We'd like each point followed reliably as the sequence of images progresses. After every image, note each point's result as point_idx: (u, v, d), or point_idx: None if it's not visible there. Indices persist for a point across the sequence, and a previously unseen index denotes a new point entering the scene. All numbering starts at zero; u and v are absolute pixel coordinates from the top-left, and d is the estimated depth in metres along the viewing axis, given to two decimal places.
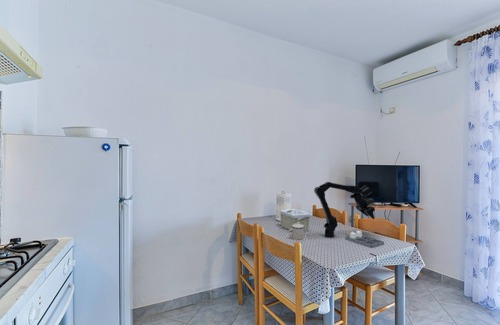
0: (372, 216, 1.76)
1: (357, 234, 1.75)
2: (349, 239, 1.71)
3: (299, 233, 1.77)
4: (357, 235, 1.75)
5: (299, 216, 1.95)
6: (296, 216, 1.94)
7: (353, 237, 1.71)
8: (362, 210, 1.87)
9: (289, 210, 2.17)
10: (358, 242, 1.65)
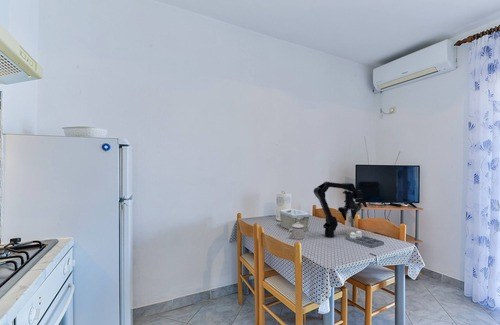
0: (344, 217, 1.83)
1: (357, 234, 1.75)
2: (349, 239, 1.71)
3: (299, 233, 1.77)
4: (357, 235, 1.75)
5: (299, 216, 1.95)
6: (296, 216, 1.94)
7: (353, 237, 1.71)
8: (352, 211, 1.88)
9: (289, 210, 2.17)
10: (358, 242, 1.65)
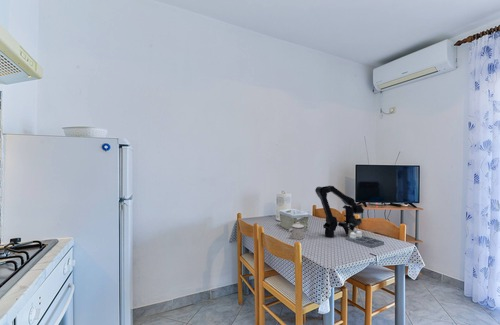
0: (346, 231, 1.84)
1: (357, 234, 1.75)
2: (349, 239, 1.71)
3: (299, 233, 1.77)
4: (357, 235, 1.75)
5: (298, 216, 1.95)
6: (295, 216, 1.94)
7: (353, 237, 1.71)
8: (350, 226, 1.87)
9: (288, 210, 2.17)
10: (358, 242, 1.65)
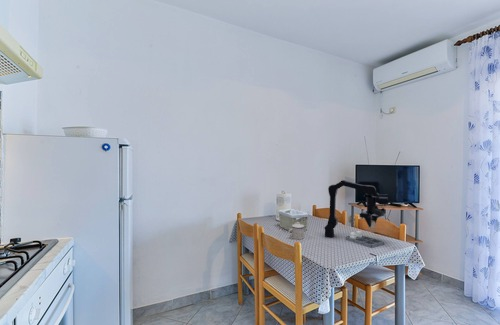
0: (368, 223, 1.66)
1: (357, 234, 1.75)
2: (349, 239, 1.71)
3: (299, 233, 1.77)
4: (357, 235, 1.75)
5: (297, 216, 1.95)
6: (294, 216, 1.94)
7: (353, 237, 1.71)
8: (372, 217, 1.70)
9: (288, 210, 2.17)
10: (358, 242, 1.65)
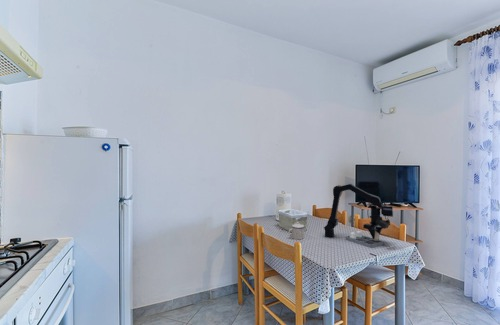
0: (372, 234, 1.63)
1: (357, 234, 1.75)
2: (349, 239, 1.71)
3: (299, 233, 1.77)
4: (357, 235, 1.75)
5: (296, 216, 1.95)
6: (293, 216, 1.94)
7: (353, 237, 1.71)
8: (376, 228, 1.67)
9: (287, 210, 2.17)
10: (358, 242, 1.65)
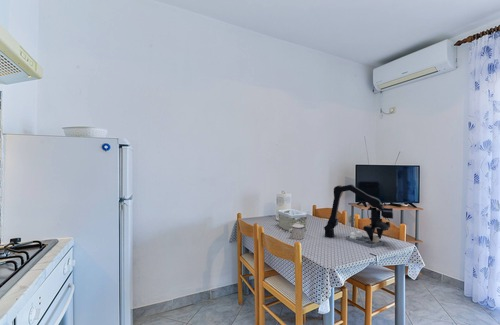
0: (370, 237, 1.62)
1: (357, 234, 1.75)
2: (349, 239, 1.71)
3: (299, 233, 1.77)
4: (357, 235, 1.75)
5: (296, 216, 1.95)
6: (293, 216, 1.94)
7: (353, 237, 1.71)
8: (378, 230, 1.68)
9: (287, 210, 2.16)
10: (358, 242, 1.65)
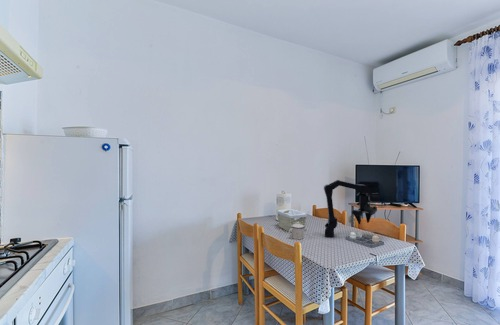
0: (358, 220, 1.75)
1: (357, 234, 1.75)
2: (349, 239, 1.71)
3: (299, 233, 1.77)
4: (357, 235, 1.75)
5: (295, 216, 1.95)
6: (292, 216, 1.94)
7: (353, 237, 1.71)
8: (367, 214, 1.80)
9: (287, 210, 2.16)
10: (358, 242, 1.65)
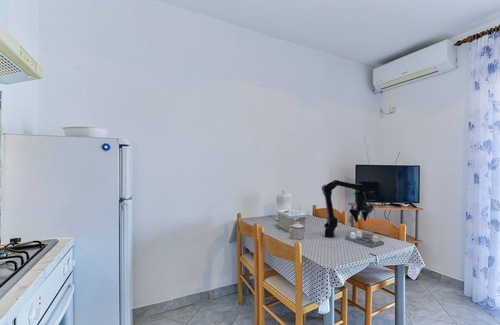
0: (355, 219, 1.78)
1: (357, 234, 1.75)
2: (349, 239, 1.71)
3: (299, 233, 1.77)
4: (357, 235, 1.75)
5: (295, 216, 1.94)
6: (292, 216, 1.94)
7: (353, 237, 1.71)
8: (363, 213, 1.84)
9: (286, 210, 2.16)
10: (358, 242, 1.65)
